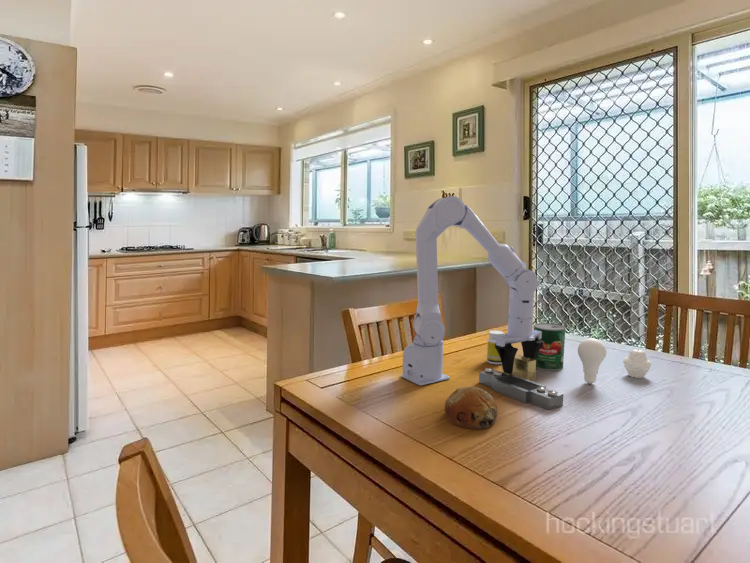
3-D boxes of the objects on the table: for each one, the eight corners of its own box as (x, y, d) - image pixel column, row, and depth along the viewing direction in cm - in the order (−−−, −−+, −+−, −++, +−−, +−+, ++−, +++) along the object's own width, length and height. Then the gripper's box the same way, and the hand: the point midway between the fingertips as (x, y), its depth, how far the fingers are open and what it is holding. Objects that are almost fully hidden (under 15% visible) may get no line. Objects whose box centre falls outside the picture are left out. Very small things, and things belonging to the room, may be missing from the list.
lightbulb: (588, 389, 106) (591, 342, 104) (570, 380, 111) (572, 336, 110) (610, 386, 107) (613, 341, 106) (591, 378, 113) (594, 334, 112)
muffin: (655, 378, 113) (658, 350, 113) (640, 381, 111) (642, 353, 110) (632, 371, 119) (634, 344, 118) (616, 374, 116) (618, 347, 115)
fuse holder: (545, 411, 93) (546, 396, 93) (475, 383, 109) (476, 370, 109) (565, 404, 97) (566, 390, 96) (495, 378, 113) (495, 366, 112)
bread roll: (491, 429, 93) (487, 388, 96) (506, 428, 83) (502, 383, 86) (442, 429, 93) (440, 389, 95) (452, 429, 83) (449, 384, 86)
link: (526, 382, 111) (528, 360, 110) (501, 373, 117) (502, 352, 117) (535, 379, 112) (536, 358, 111) (509, 371, 119) (510, 350, 118)
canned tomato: (538, 371, 119) (540, 329, 117) (527, 361, 126) (529, 322, 125) (568, 371, 119) (571, 329, 117) (556, 361, 126) (558, 322, 125)
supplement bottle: (506, 364, 124) (507, 334, 122) (488, 364, 124) (489, 334, 123) (501, 359, 128) (503, 330, 127) (484, 359, 128) (485, 330, 127)
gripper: (513, 323, 106) (511, 380, 107) (553, 316, 113) (550, 369, 115) (490, 317, 111) (488, 371, 113) (529, 311, 119) (527, 362, 121)
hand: (518, 370), depth 114 cm, fingers open, 7 cm apart
